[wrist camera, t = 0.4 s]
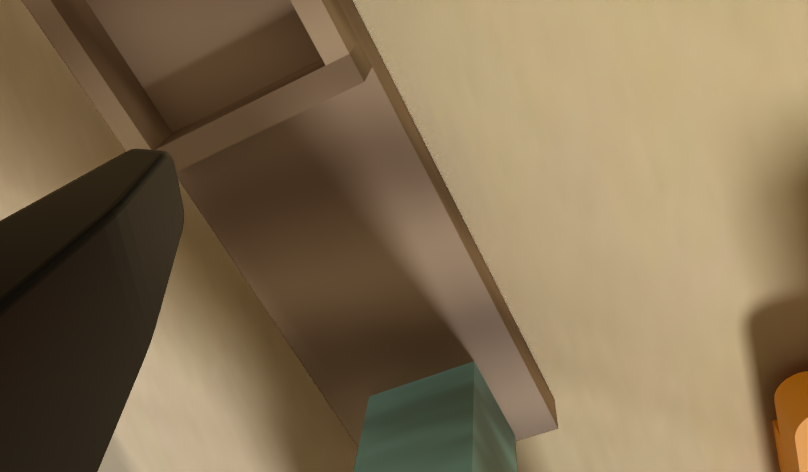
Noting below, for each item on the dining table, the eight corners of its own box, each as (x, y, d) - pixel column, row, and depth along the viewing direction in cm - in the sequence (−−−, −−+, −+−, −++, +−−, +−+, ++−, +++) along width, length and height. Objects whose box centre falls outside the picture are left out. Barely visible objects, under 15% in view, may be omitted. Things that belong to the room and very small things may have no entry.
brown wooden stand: (554, 399, 27) (612, 842, 15) (385, 452, 29) (314, 879, 17) (231, -237, 18) (-239, -410, 6) (25, -101, 20) (-628, -38, 8)
